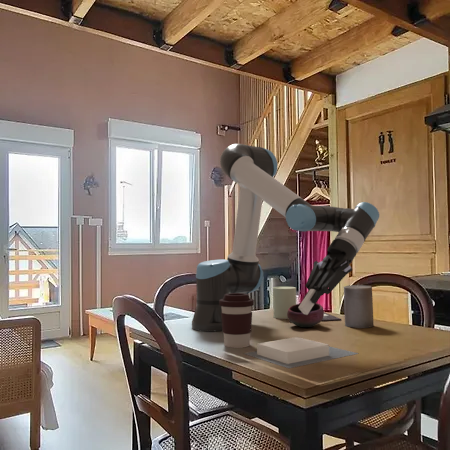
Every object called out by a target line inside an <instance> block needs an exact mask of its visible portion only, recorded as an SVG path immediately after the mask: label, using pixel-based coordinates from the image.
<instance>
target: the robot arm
mask: <svg viewBox="0 0 450 450" xmlns="http://www.w3.org/2000/svg"><path fill="white" fill-rule="evenodd" d="M220 155H221V156H220V158H219V159H220V160H219V164H220V165H219V166H220V168H221V170H222V172H223V173H224V175H226V176H227V177H228V178H229V179H230V180H231V181H233V182H235V183H236V184H237V185H238V187H239V194H238V202H237V203H238V204H237V212H236V219H235V228H234V237H233V244H232V251H231V253H229V254H227V259H211V260H204V261H201V262H199V263H198V264H197V265H196V270H195V271H196V272H195V279H196V280H195V281H196V283H195V284H196V307H195V311H194V314H193V316H192V321H191V329H193V330H195V331H201V332H219V331H220V332H221V331H222V332H223V330H222V318H221V312H222V308H221V306H220V305H219V300H220V299H223V298H224V295H225V294H229V293H245V294H248V295H249V294H250V293H254V292H255V291H257V290H259V288H260V287H261V285H262V283H263V279H264V271H263V269H262V266H261V265H260V263H259V261H260V260H259V257H257V255H256V253H257V246H258V237H259V230H260V222H261V221H260V220H261V214H262V213H261V212H262V206H263V201H264V202H265V203H266V204H267V205H269V206H270V207H271V208H273V209H274V210H275V211H276V212H278V214H280V215H282V216H283V217H284V218H285V221H286V224H287V226H288V227H289V228H290V229H292V230H294V231H298V232H334V233H337V234H336V236H335V237H334V239H333V240H332V242H330V245H329V246H328V247H327V252H326V253H327V254H326V256H324V257H323V258H322V260H321V261H317V260H315V261H314V262H313V265H312V266H313V267H312V270H311V272H310V274H309V277H308V279H307V281H306V283H305V288H306V289H307V292H306V293H305V295H304V296H303V300H302V301H301V302H300V303H301V304H300V303H299V304H300V305H299V307H298V308H299V309H300V310H301V312H302V313H303V314H306V315H308V313H309V312H310V310H311V309H312V307H313V306H314V304H315V303H318V301H319V299H320V298H321V297H322V296H323V295H325V294H326V295H329V294H330V293H332V291H333V290H334V289H335V288H336V287H337V286H338V285H339V284H340V282H341V281H343V279H344V278H345V277H346V276H347V275H348V274H350V273H351V272H352V271H353V268H352V266H351V265H350V264H351V263H352V262H353V261H354V259H355V257H356V255H357V254H358V253H359V252H360V249H362V247H363V246H364V243H365V242H366V239H367V238H368V237H369V235H370V234H371V232H372V231H373V229H375V227H376V224H377V222H378V221H379V219H380V212H379V210H378V208H377V207H376V206H375V205H374V204H372V203H370V202H367V201H362V202H359V203H357V205H355V207H354V208H348V207H347V208H344V207H339V206H330V205H312V204H311V203H309V202H307V200H305V199H303V198H302V197H301V196H299V195H298V194H297V193H295V192H294V191H292V190H291V189H290V188H288V187H287V186H285V185H284V184H283V183H281V182H280V181H279V180H277V179H276V178H275V177H276V175H277V172H278V160H277V157H276V156H275V154H274V153H273V152H272V151H271V150H269V149H268V148H264V147H260V146H254V145H250V144H249V145H248V144H245V143H233V144H231V145H229V146H227V147H226V148H225V149H224V150H223V151H222V153H221V154H220Z"/></svg>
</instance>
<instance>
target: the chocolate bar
mask: <svg viewBox="0 0 450 450" xmlns="http://www.w3.org/2000/svg"><path fill="white" fill-rule="evenodd" d="M339 321H340V322H341V321H342V318H340V317H337V316H334V315H333V314H329V313H327V312H324V317H323V319H322V321H321V322H339Z"/></svg>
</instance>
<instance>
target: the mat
mask: <svg viewBox="0 0 450 450" xmlns="http://www.w3.org/2000/svg"><path fill="white" fill-rule="evenodd" d="M358 354H359V353H358V352H353V351H350V350H346V349H342V348H338V347H334V346H330V345H329V356H324V357H319V358H314V359H310V360H305V361H300V362H295V363H290V364H286V363H283V362H280V361H277V360H273V359H270V358H267V357H264V356H261V355H258V354H257V350H255V351H250V352H244V353H243V355H246V356H250V357H252V358H256V359H259V360H262V361H264V362H268V363H271V364H274V365H277V366H280V367H283V368H286V369H293V368H297V367H303V366H306V365H307V366H308V365H312V364H317V363H321V362H325V361H331V360H335V359H339V358H344V357H349V356H354V355H358Z"/></svg>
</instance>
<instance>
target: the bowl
mask: <svg viewBox="0 0 450 450" xmlns="http://www.w3.org/2000/svg"><path fill="white" fill-rule="evenodd" d="M300 304H301V302H300V303H296V305H293V306H291V307H290V308H289V309H288V312H287V317H288V319H287V320H288V321H289V322H290V323H291V324H292V325H295V326H297V327H300V328H311V327H314V326H316V325H319V324H320V323H321V322H323V321H322V319H323V317H324V311H325V310H324V308H323V305H321V304H319V303H318V302H317V303H315V304H314V306H313V307H312V309H311V310H310V312H309V313H308V315H306V314H303V313H302V312H301V310H300V309H299V308H298V307H299V305H300Z"/></svg>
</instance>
